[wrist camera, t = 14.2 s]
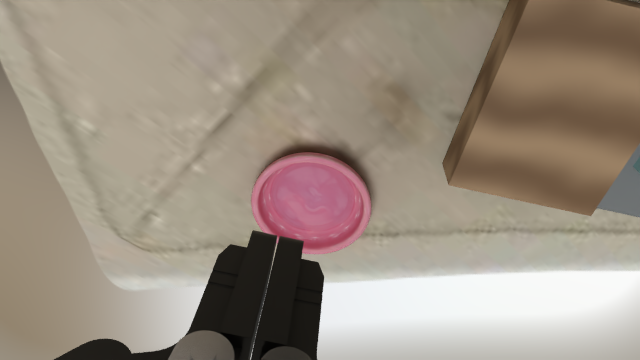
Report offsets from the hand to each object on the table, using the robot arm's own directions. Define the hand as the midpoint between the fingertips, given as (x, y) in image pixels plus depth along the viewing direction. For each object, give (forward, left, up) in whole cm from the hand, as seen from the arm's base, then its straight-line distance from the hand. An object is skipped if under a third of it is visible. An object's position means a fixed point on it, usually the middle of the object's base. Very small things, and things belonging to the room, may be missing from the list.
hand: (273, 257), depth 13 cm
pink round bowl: (+19, +2, -31) cm, 37 cm away
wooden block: (+3, +21, -31) cm, 38 cm away
